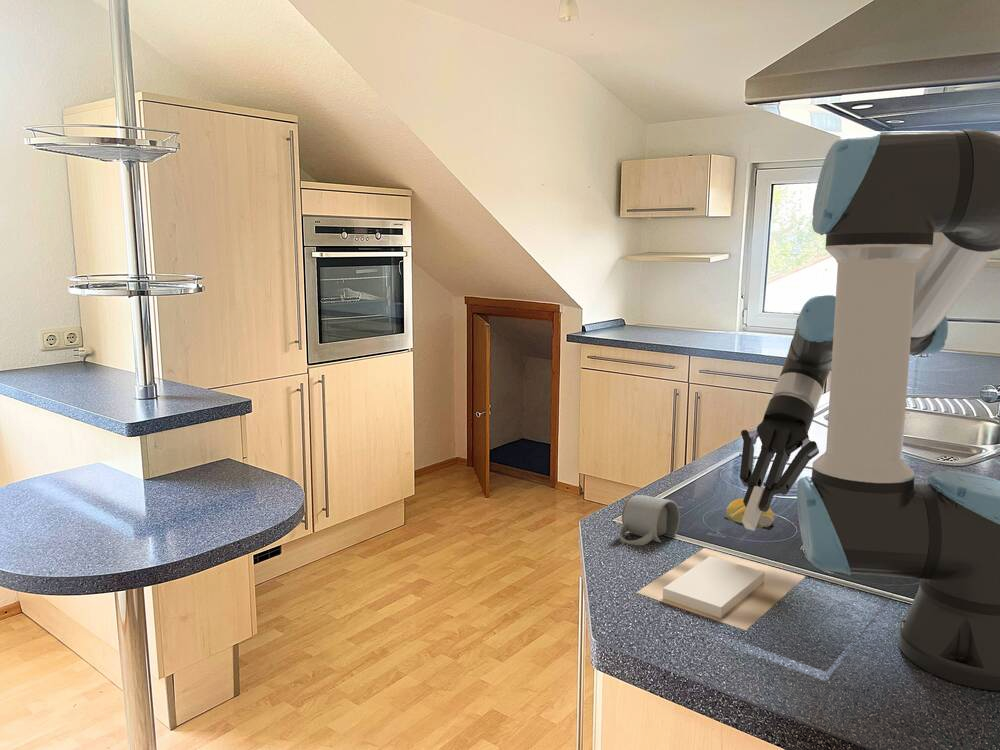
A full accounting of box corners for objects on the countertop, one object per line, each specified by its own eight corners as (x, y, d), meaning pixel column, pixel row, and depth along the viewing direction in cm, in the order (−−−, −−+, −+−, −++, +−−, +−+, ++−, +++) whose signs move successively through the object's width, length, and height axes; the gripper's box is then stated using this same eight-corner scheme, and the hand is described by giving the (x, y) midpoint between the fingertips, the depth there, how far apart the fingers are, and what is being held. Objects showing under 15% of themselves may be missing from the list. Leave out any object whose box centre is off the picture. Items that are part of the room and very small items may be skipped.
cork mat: (704, 552, 129) (704, 547, 129) (805, 581, 118) (805, 576, 118) (635, 597, 113) (636, 592, 112) (745, 635, 101) (745, 630, 101)
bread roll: (754, 511, 149) (755, 491, 148) (781, 527, 140) (782, 506, 140) (716, 514, 147) (717, 494, 146) (740, 531, 139) (741, 510, 138)
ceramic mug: (641, 525, 141) (642, 486, 140) (680, 537, 135) (681, 496, 134) (607, 542, 134) (607, 501, 132) (646, 555, 128) (647, 512, 127)
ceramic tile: (710, 556, 121) (663, 588, 110) (764, 571, 115) (721, 607, 104) (709, 565, 122) (662, 598, 110) (764, 582, 116) (720, 618, 105)
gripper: (835, 423, 128) (794, 546, 119) (760, 412, 137) (716, 526, 127) (827, 398, 124) (783, 524, 114) (750, 388, 132) (703, 505, 123)
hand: (748, 525), depth 121 cm, fingers closed
